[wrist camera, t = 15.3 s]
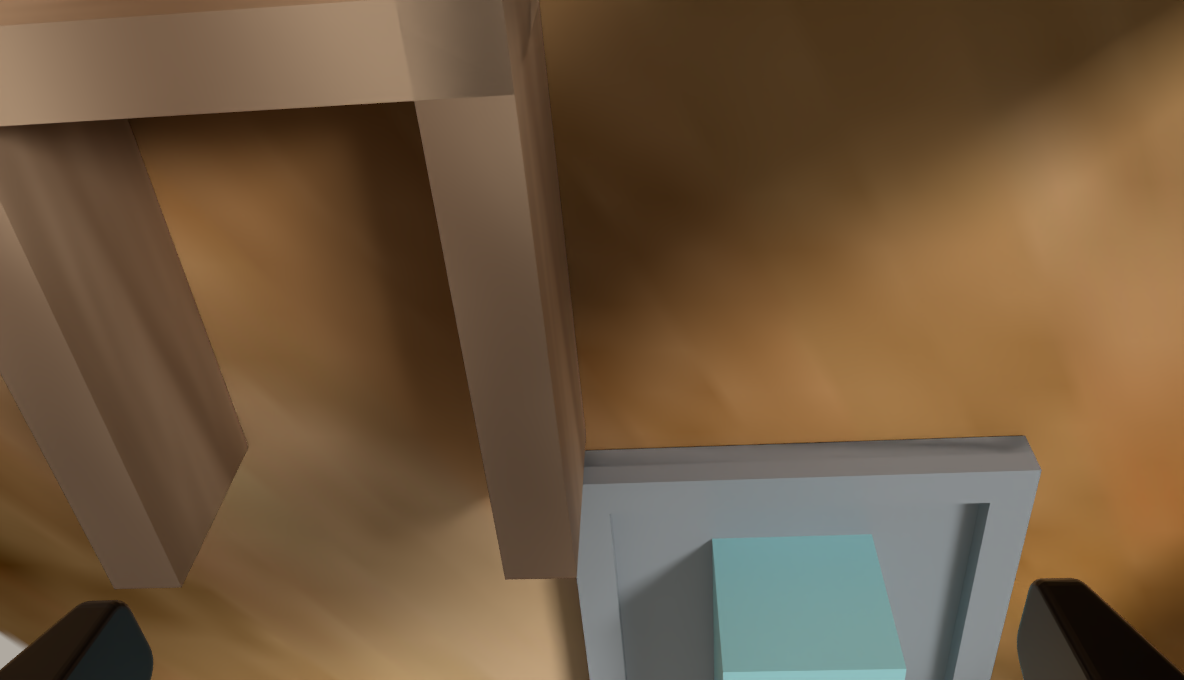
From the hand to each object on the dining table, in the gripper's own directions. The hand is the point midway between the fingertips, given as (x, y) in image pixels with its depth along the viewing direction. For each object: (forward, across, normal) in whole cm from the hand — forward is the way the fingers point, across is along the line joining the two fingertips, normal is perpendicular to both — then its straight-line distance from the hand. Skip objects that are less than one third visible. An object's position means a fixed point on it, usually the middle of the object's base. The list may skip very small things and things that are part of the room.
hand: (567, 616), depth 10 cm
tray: (+12, -4, +15) cm, 20 cm away
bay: (+12, +6, +2) cm, 14 cm away
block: (+9, -4, +11) cm, 15 cm away
